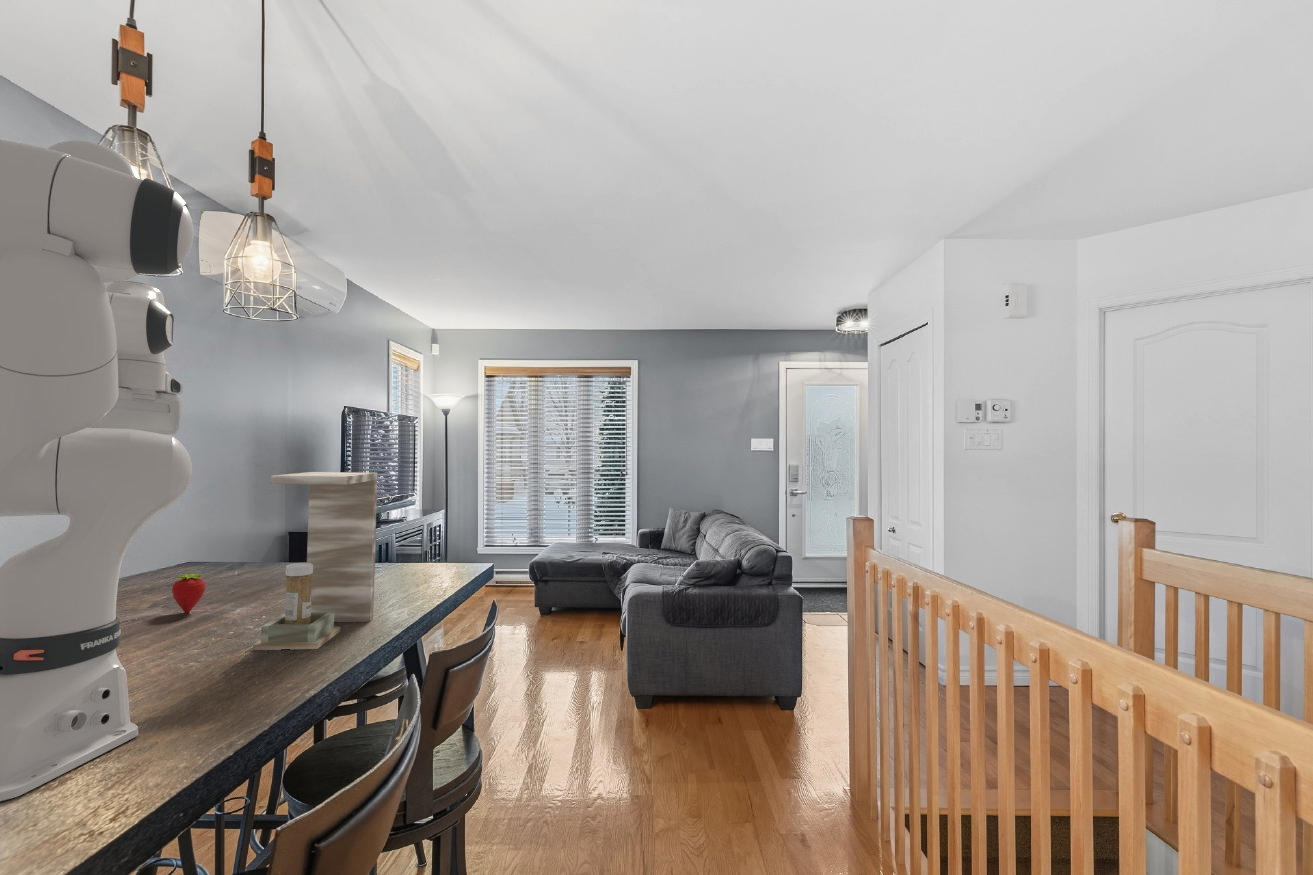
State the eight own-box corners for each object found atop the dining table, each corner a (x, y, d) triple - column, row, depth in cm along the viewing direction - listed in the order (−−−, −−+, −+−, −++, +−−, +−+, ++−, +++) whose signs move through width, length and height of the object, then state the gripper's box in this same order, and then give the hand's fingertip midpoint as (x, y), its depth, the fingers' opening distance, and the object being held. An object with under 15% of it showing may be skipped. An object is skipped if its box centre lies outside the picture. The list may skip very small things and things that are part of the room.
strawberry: (202, 606, 141) (204, 562, 141) (206, 613, 135) (208, 567, 135) (169, 611, 137) (171, 565, 137) (172, 618, 131) (174, 570, 131)
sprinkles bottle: (314, 634, 118) (316, 564, 119) (287, 639, 115) (290, 567, 115) (306, 629, 121) (308, 561, 122) (280, 634, 118) (282, 563, 118)
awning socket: (337, 648, 114) (342, 476, 114) (252, 650, 112) (258, 475, 113) (373, 618, 134) (377, 472, 134) (301, 619, 132) (306, 471, 132)
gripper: (107, 372, 96) (104, 461, 96) (189, 386, 117) (186, 459, 116) (62, 371, 95) (58, 461, 95) (152, 385, 116) (150, 459, 115)
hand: (129, 460), depth 106 cm, fingers open, 8 cm apart
